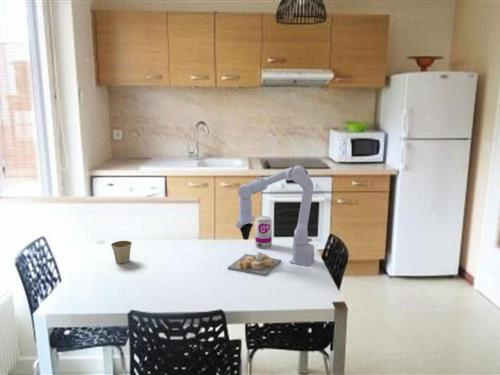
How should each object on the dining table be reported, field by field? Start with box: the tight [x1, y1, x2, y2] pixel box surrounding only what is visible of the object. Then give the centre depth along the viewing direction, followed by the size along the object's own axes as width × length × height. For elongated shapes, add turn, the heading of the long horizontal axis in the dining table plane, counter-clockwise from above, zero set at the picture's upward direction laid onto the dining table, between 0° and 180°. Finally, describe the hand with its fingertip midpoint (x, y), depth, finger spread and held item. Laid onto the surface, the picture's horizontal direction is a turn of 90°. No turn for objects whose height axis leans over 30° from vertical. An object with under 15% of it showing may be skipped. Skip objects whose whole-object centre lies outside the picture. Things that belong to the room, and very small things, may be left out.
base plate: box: [227, 251, 282, 277], centre depth 194 cm, size 18×18×6 cm
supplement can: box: [254, 215, 273, 249], centre depth 218 cm, size 8×8×15 cm
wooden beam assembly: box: [236, 253, 274, 270], centre depth 192 cm, size 15×10×2 cm, turn 114°
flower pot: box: [110, 240, 133, 265], centre depth 200 cm, size 9×9×9 cm
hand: (245, 239), depth 200 cm, fingers closed
